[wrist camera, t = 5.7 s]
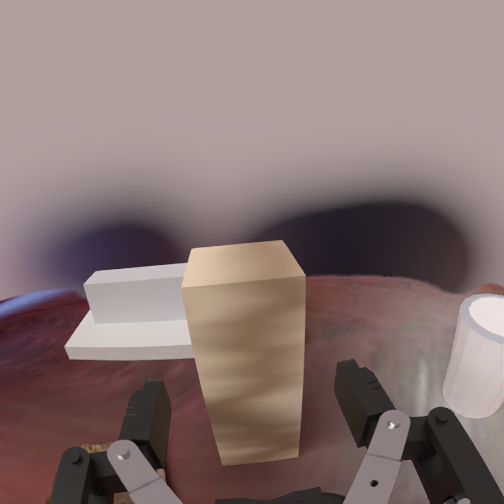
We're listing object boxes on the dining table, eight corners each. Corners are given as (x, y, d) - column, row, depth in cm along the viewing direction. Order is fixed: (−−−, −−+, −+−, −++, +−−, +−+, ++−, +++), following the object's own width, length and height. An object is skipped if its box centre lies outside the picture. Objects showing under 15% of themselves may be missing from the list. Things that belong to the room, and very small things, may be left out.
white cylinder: (439, 428, 14) (476, 346, 12) (430, 365, 20) (450, 290, 18) (516, 420, 12) (558, 341, 10) (496, 364, 18) (521, 292, 16)
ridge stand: (69, 359, 24) (48, 305, 22) (105, 303, 35) (94, 259, 34) (299, 346, 26) (300, 285, 24) (276, 289, 37) (274, 241, 35)
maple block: (222, 465, 15) (180, 287, 11) (220, 413, 19) (191, 248, 15) (298, 456, 15) (305, 275, 11) (285, 406, 19) (282, 240, 15)
